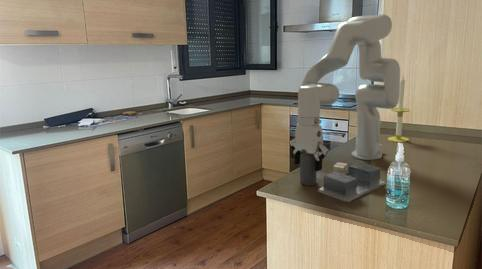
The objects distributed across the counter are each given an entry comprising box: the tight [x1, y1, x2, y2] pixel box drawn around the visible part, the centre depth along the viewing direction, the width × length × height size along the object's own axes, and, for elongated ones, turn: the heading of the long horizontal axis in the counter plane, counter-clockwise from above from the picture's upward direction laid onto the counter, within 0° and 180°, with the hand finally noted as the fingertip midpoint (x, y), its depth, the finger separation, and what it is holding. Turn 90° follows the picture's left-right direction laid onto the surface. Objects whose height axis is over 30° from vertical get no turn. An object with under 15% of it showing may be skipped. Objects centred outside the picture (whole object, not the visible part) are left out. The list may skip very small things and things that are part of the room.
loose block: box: [332, 162, 348, 175], centre depth 143 cm, size 5×4×4 cm
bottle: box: [299, 149, 317, 186], centre depth 135 cm, size 6×6×15 cm
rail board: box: [317, 161, 386, 203], centre depth 129 cm, size 22×12×6 cm, turn 129°
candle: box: [387, 75, 411, 143], centre depth 183 cm, size 10×10×32 cm
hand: (307, 167), depth 135 cm, fingers open, 9 cm apart
